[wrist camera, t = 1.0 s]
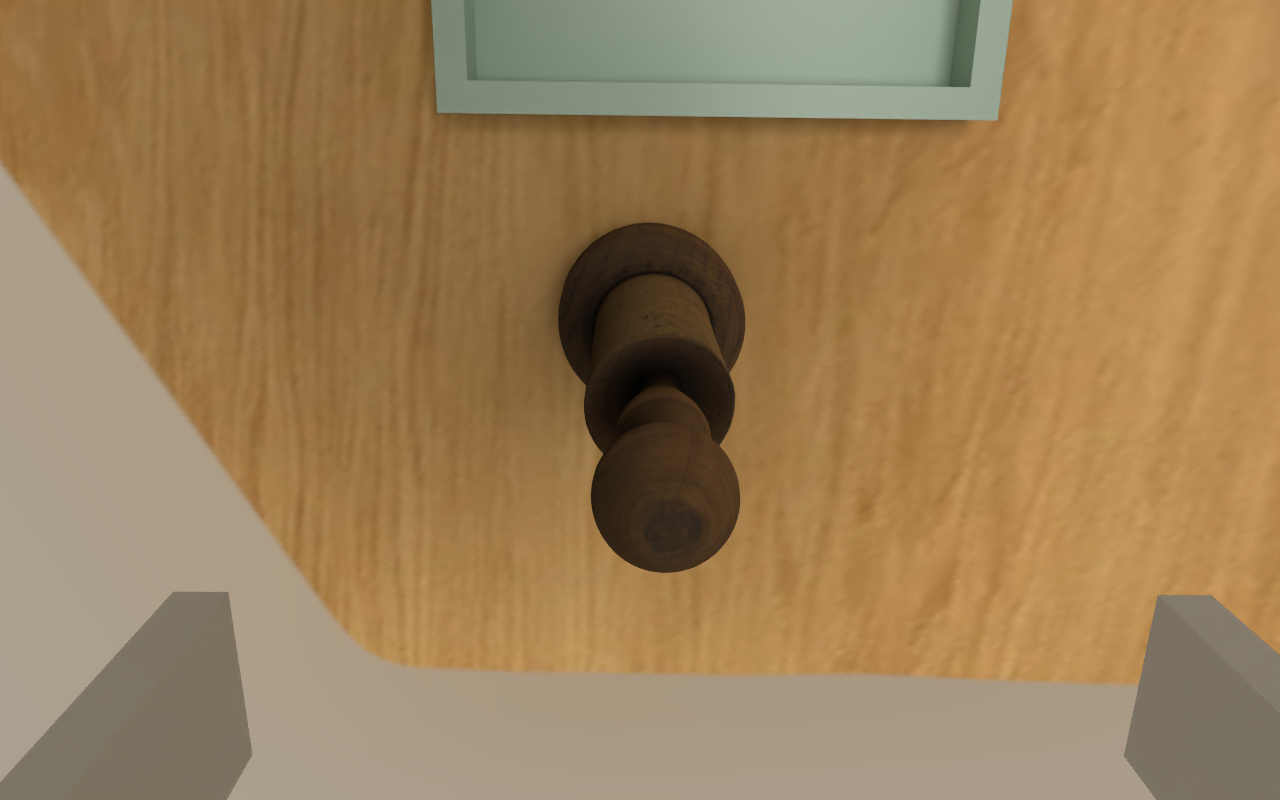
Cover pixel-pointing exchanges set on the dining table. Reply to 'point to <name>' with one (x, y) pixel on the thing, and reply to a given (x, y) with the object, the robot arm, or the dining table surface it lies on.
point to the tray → (722, 57)
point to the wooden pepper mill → (657, 390)
